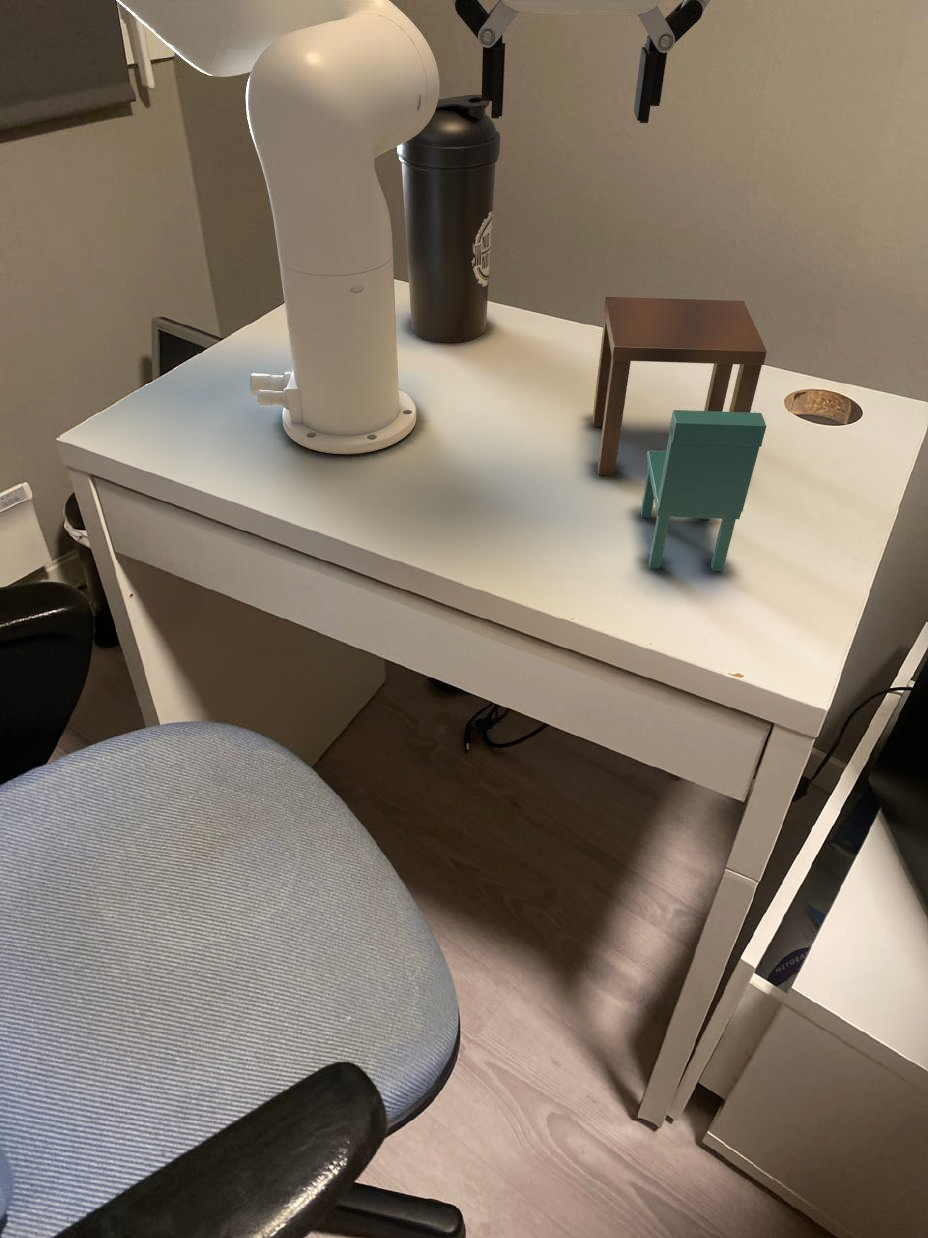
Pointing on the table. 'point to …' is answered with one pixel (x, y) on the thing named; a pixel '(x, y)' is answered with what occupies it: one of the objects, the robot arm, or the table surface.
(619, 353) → the side table
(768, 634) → the table surface
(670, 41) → the robot arm
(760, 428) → the chair
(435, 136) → the water bottle
